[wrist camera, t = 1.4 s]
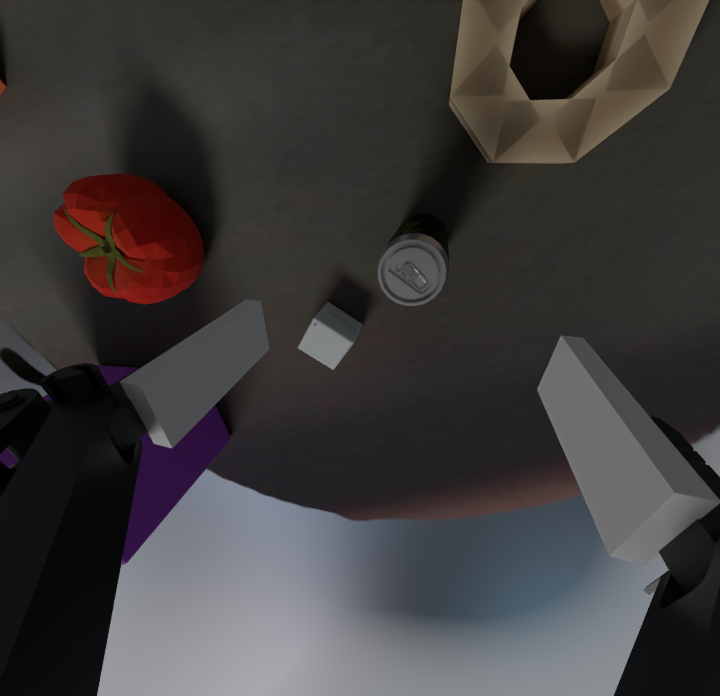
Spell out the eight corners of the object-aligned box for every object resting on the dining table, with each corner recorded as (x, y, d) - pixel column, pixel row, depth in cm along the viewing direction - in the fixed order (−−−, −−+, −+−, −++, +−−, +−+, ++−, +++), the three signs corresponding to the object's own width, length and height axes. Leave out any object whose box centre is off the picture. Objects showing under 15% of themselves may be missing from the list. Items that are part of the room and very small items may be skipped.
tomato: (226, 292, 40) (167, 325, 32) (146, 273, 42) (69, 301, 33) (209, 181, 33) (125, 186, 24) (112, 165, 34) (2, 164, 26)
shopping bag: (186, 346, 48) (-82, 532, 24) (246, 436, 58) (102, 634, 33) (88, 364, 58) (-173, 509, 33) (154, 439, 68) (-11, 593, 43)
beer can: (458, 239, 30) (466, 275, 20) (419, 275, 32) (409, 321, 23) (423, 200, 29) (412, 217, 19) (386, 240, 31) (360, 274, 22)
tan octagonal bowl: (475, -87, 19) (480, -133, 16) (732, -128, 16) (793, -191, 13) (441, 162, 27) (441, 161, 24) (613, 163, 24) (636, 163, 21)
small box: (310, 330, 40) (296, 348, 36) (327, 300, 37) (313, 315, 33) (344, 352, 41) (333, 372, 37) (364, 323, 38) (355, 342, 34)
